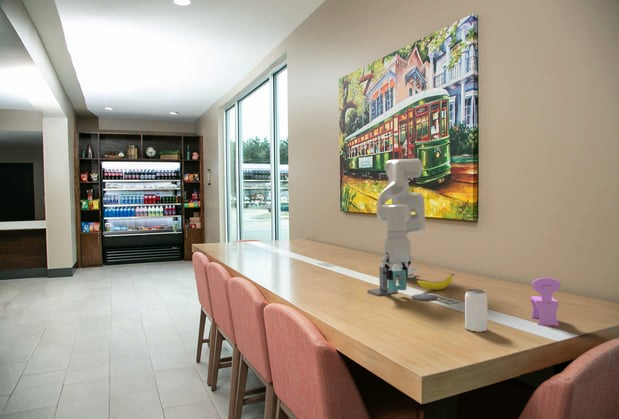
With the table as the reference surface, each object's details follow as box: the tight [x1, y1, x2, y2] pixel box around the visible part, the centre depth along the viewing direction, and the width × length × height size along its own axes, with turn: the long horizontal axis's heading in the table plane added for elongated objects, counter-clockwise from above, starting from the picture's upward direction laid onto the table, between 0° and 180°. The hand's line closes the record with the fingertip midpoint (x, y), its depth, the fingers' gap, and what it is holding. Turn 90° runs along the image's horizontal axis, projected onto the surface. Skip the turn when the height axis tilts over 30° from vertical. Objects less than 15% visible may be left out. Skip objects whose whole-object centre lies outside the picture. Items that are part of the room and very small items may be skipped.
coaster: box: [411, 293, 438, 302], centre depth 179 cm, size 10×10×1 cm
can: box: [464, 288, 488, 333], centre depth 138 cm, size 6×6×12 cm
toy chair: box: [530, 276, 561, 327], centre depth 144 cm, size 8×9×15 cm
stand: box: [366, 266, 405, 297], centre depth 186 cm, size 10×18×11 cm, turn 28°
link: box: [388, 269, 407, 292], centre depth 181 cm, size 7×3×8 cm, turn 118°
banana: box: [416, 273, 455, 291], centre depth 193 cm, size 3×19×6 cm, turn 111°
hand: (397, 278), depth 181 cm, fingers closed on link, 7 cm apart
